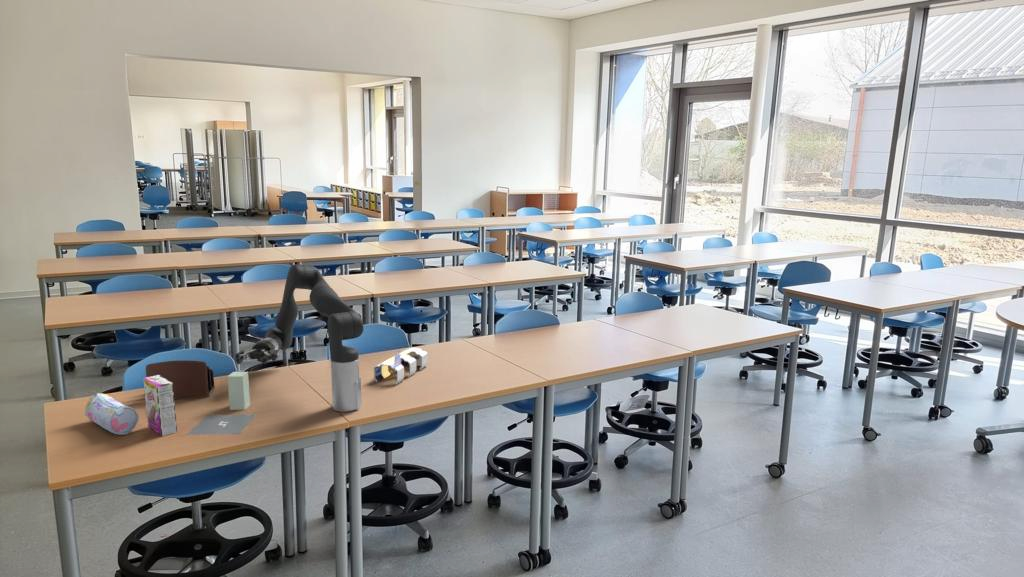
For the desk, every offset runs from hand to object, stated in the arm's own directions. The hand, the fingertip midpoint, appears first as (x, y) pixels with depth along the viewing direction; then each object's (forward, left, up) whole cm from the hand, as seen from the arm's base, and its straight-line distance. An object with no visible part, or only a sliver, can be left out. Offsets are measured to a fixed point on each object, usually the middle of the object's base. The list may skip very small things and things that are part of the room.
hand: (250, 361), depth 231 cm
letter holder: (+26, -2, -14) cm, 29 cm away
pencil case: (+34, +27, -14) cm, 46 cm away
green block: (+1, +11, -13) cm, 17 cm away
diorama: (-50, -25, -14) cm, 58 cm away
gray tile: (+1, +26, -13) cm, 29 cm away
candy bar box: (+18, +30, -13) cm, 37 cm away
